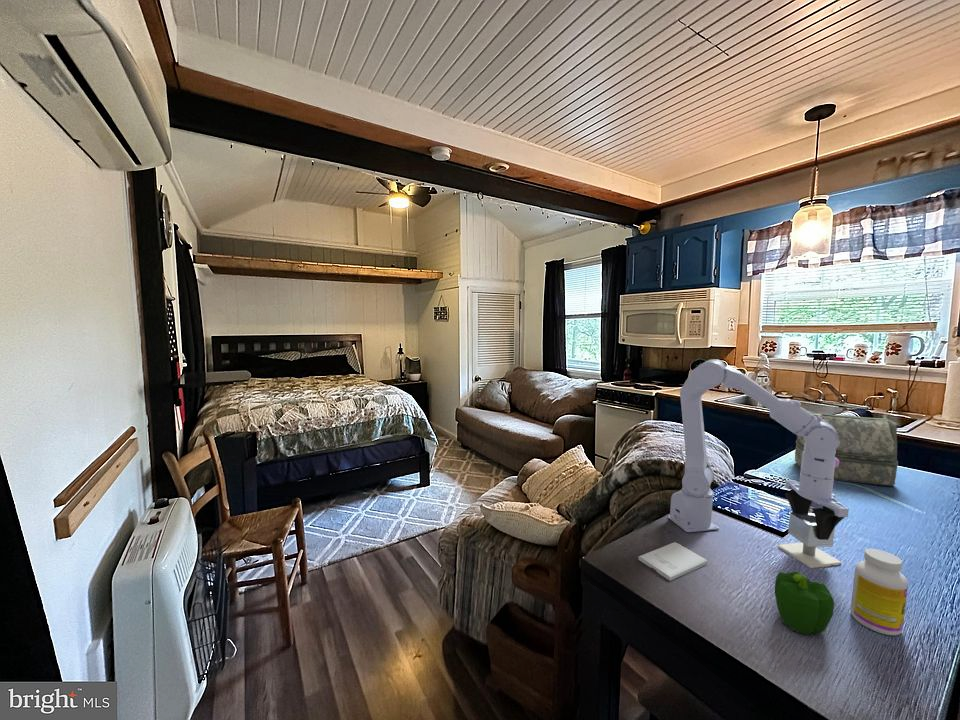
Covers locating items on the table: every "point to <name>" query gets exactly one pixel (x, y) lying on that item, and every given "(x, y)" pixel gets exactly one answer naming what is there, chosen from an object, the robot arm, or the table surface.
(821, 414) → the lunch bag
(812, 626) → the bell pepper
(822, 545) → the white storage bin
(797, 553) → the peg base
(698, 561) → the external hard drive
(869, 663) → the table surface
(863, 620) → the supplement bottle
